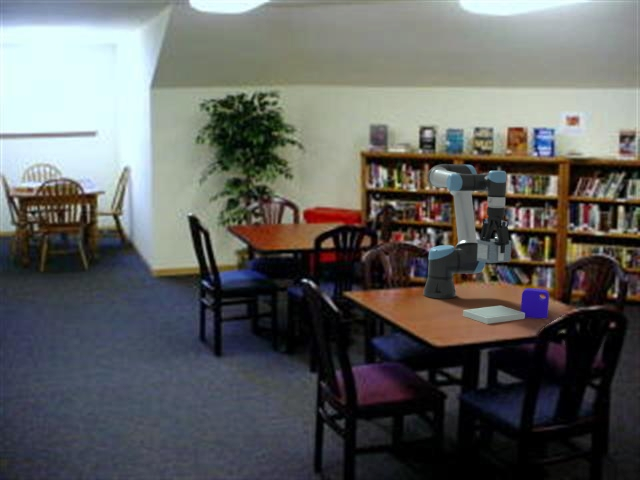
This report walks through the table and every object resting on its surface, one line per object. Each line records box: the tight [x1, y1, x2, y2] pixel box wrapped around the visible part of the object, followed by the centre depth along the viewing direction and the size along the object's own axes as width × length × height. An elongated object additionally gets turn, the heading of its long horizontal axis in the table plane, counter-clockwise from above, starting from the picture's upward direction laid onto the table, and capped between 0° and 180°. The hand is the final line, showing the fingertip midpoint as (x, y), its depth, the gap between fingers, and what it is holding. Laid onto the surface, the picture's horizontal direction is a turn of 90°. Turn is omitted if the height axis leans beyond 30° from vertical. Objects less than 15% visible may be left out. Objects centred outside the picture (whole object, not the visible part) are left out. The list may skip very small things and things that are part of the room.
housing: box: [477, 236, 512, 264], centre depth 368 cm, size 8×13×10 cm, turn 121°
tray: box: [462, 305, 526, 325], centre depth 360 cm, size 15×21×3 cm
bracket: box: [520, 287, 550, 319], centre depth 369 cm, size 18×11×12 cm, turn 160°
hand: (493, 259), depth 368 cm, fingers closed on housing, 8 cm apart
